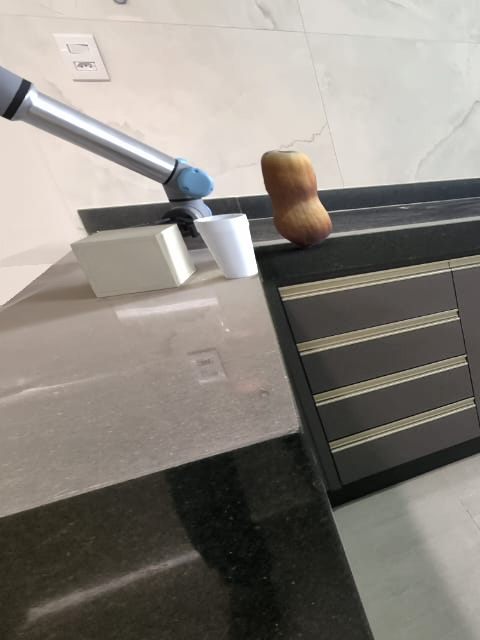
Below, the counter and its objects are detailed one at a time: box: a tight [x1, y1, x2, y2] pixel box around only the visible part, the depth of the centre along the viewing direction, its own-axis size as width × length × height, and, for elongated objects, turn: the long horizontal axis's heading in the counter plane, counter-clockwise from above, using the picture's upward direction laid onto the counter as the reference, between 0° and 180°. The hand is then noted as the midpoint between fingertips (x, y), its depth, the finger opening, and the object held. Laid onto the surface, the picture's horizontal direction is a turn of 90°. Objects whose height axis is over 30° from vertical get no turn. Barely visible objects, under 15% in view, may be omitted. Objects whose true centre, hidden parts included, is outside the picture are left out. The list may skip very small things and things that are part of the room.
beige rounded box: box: [69, 224, 197, 299], centre depth 116 cm, size 15×14×11 cm
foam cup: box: [193, 213, 258, 280], centre depth 119 cm, size 10×9×13 cm
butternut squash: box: [260, 149, 333, 250], centre depth 141 cm, size 14×13×25 cm
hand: (157, 235), depth 128 cm, fingers open, 13 cm apart
